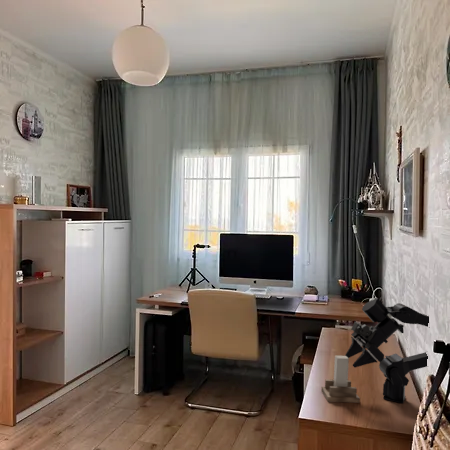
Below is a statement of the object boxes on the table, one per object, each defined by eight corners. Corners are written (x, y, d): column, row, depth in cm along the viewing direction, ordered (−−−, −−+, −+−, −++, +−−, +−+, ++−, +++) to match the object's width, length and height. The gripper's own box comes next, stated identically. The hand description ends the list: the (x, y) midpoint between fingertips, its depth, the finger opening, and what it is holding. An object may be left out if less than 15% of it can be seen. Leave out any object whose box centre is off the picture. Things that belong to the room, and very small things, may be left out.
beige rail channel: (351, 391, 156) (352, 379, 156) (359, 402, 147) (360, 389, 147) (321, 390, 156) (321, 378, 156) (327, 401, 147) (328, 388, 147)
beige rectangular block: (344, 390, 153) (346, 355, 153) (347, 394, 150) (348, 358, 150) (333, 390, 153) (334, 355, 152) (335, 393, 150) (337, 358, 149)
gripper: (358, 309, 160) (327, 337, 160) (376, 321, 142) (341, 353, 142) (378, 331, 160) (347, 359, 160) (399, 346, 142) (364, 378, 142)
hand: (349, 361), depth 151 cm, fingers open, 9 cm apart
